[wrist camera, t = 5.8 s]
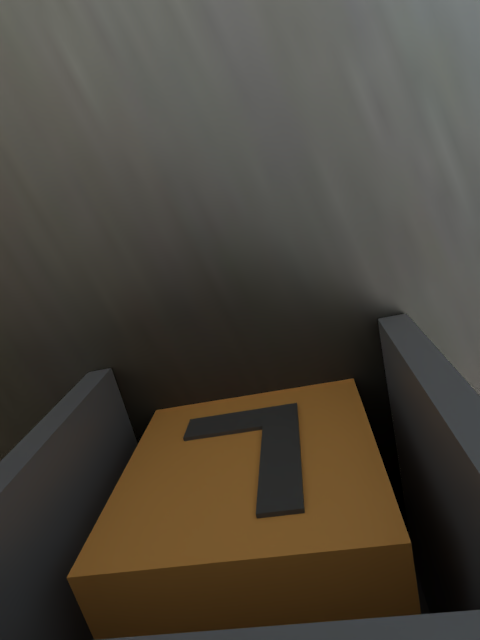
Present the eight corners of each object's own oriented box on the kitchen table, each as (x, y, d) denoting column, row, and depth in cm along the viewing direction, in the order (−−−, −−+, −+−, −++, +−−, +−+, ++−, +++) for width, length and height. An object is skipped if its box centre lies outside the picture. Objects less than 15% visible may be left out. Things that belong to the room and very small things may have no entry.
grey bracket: (439, 577, 10) (667, 1167, 4) (172, 601, 11) (43, 1099, 5) (406, 313, 8) (741, 691, 2) (88, 372, 9) (-274, 738, 3)
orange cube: (379, 539, 10) (446, 787, 6) (204, 557, 10) (157, 791, 6) (352, 373, 8) (413, 543, 4) (156, 404, 9) (61, 578, 5)
